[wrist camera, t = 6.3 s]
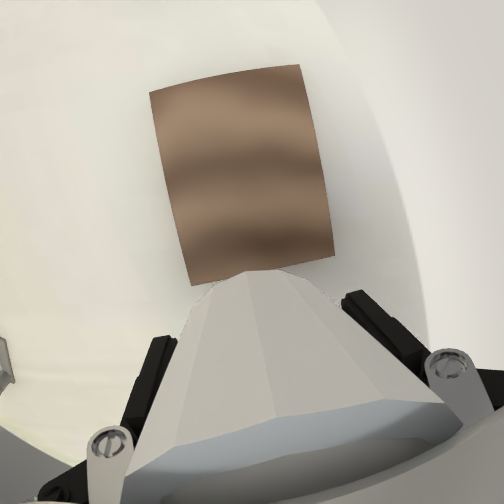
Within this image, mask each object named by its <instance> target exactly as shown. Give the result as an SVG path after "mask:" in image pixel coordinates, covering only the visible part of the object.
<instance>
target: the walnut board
mask: <svg viewBox="0 0 504 504" xmlns="http://www.w3.org/2000/svg"><path fill="white" fill-rule="evenodd" d="M149 95H150V101H151V108H152V113H153V119H154V125H155V130H156V136H157V141H158V146H159V151H160V156H161V161H162V166H163V171H164V176H165V181H166V185H167V190H168V194H169V199H170V203H171V208H172V212H173V216H174V220H175V225H176V229H177V233H178V237H179V241H180V245H181V249H182V253H183V257H184V260H185V264H186V268H187V272H188V275H189V279H190V283H191V286H195V285H200V284H205V283H209V282H214V281H219V280H224V279H229V278H231V277H234V276H236V275H238V274H241V273H243V272H245V271H264V270H272V269H276V268H281V267H286V266H290V265H295V264H299V263H304V262H308V261H313V260H317V259H322V258H326V257H331V256H335V251H334V243H333V235H332V228H331V221H330V214H329V208H328V201H327V195H326V189H325V183H324V177H323V171H322V166H321V160H320V155H319V150H318V144H317V139H316V134H315V130H314V125H313V120H312V116H311V111H310V107H309V102H308V98H307V94H306V89H305V85H304V81H303V77H302V73H301V69H300V65H299V64H297V65H286V66H276V67H268V68H260V69H253V70H246V71H240V72H234V73H228V74H223V75H218V76H213V77H208V78H203V79H199V80H194V81H190V82H186V83H182V84H178V85H174V86H170V87H166V88H163V89H159V90H156V91H152V92H149Z"/></svg>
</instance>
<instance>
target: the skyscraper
mask: <svg viewBox="0 0 504 504" xmlns="http://www.w3.org/2000/svg"><path fill="white" fill-rule="evenodd" d="M9 383H13V384H14V383H15V380H14V376H13V372H12V368H11V363H10V359H9V354H8V349H7V344H6V340H5V339H3V338H1V337H0V395H1V393H2V392H3V391H4V389H5V388H6V387H7V385H8V384H9Z"/></svg>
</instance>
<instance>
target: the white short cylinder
mask: <svg viewBox="0 0 504 504" xmlns="http://www.w3.org/2000/svg"><path fill="white" fill-rule="evenodd" d="M463 425H464V424H463V423H462V422H461V421H460V419H459V418H458V417H457V416H456V415H455V414H454V412H453V411H452V410H451V409H450V408H449V407H448V406H447V404H446V403H445V402H444V401H442V400H441V399H440V398H439V397H438V396H437V395H436V394H435V393H434V392H433V391H432V390H431V389H430V388H428V387H427V386H426V385H425V384H424V383H423V382H422V381H421V380H420V379H419V378H418V377H416V376H415V375H414V374H413V373H412V372H411V371H410V370H409V369H408V368H407V367H406V366H404V365H403V364H402V363H401V362H400V361H399V360H398V359H397V358H396V357H395V356H393V355H392V354H391V353H390V352H389V351H388V350H387V349H386V348H385V347H384V346H382V345H381V344H380V343H379V342H378V341H377V340H376V339H375V338H374V337H372V336H371V335H370V334H369V333H368V332H367V331H366V330H365V329H364V328H362V327H361V326H360V325H359V324H358V323H357V322H356V321H355V320H353V319H352V318H351V317H350V316H349V315H348V314H347V313H346V312H345V311H343V310H342V309H341V308H340V307H339V306H338V305H337V304H335V303H334V302H333V301H332V300H331V299H330V298H329V297H328V296H326V295H325V294H324V293H323V292H322V291H321V290H320V289H319V288H317V287H316V286H315V285H314V284H313V283H312V282H311V281H309V280H307V279H304V278H301V277H299V276H296V275H293V274H290V273H287V272H284V271H282V270H264V271H245V272H243V273H241V274H238V275H236V276H234V277H231V278H229V279H227V280H225V281H222V282H220V283H218V284H215V285H214V286H213V287H212V288H211V289H210V290H209V291H208V292H207V293H206V294H205V295H204V296H203V297H202V298H201V299H200V300H199V301H198V302H197V304H196V305H195V306H194V307H193V308H192V310H191V313H190V315H189V317H188V320H187V322H186V324H185V327H184V329H183V331H182V334H181V336H180V339H179V341H178V343H177V346H176V348H175V350H174V353H173V355H172V358H171V360H170V362H169V365H168V367H167V370H166V372H165V375H164V377H163V379H162V382H161V384H160V387H159V389H158V392H157V394H156V397H155V399H154V402H153V404H152V407H151V409H150V412H149V414H148V417H147V419H146V422H145V424H144V427H143V430H142V432H141V435H140V437H139V440H138V443H137V445H136V448H135V450H134V453H133V456H132V458H131V461H130V464H129V466H128V469H127V472H126V475H125V477H124V483H123V488H122V494H121V500H120V504H267V503H272V502H278V501H283V500H288V499H293V498H297V497H301V496H306V495H310V494H314V493H318V492H321V491H325V490H328V489H332V488H335V487H339V486H342V485H345V484H348V483H351V482H354V481H357V480H360V479H363V478H366V477H368V476H371V475H374V474H376V473H379V472H381V471H384V470H387V469H389V468H391V467H394V466H396V465H398V464H401V463H403V462H405V461H407V460H410V459H412V458H414V457H416V456H418V455H420V454H422V453H424V452H426V451H428V450H430V449H432V448H434V447H436V446H438V445H440V444H442V443H443V441H444V440H446V439H447V438H448V437H450V436H451V435H452V434H453V433H454V432H456V431H457V430H458V429H459V428H460V427H462V426H463Z"/></svg>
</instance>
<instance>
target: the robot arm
mask: <svg viewBox="0 0 504 504" xmlns="http://www.w3.org/2000/svg"><path fill="white" fill-rule="evenodd" d="M341 306H342V310H343V311H345V312H346V313H347V314H348V315H349V316H350V317H351V318H352V319H353V320H355V321H356V322H357V323H358V324H359V325H360V326H361V327H362V328H364V329H365V330H366V331H367V332H368V333H369V334H370V335H371V336H372V337H374V338H375V339H376V340H377V341H378V342H379V343H380V344H381V345H382V346H384V347H385V348H386V349H387V350H388V351H389V352H390V353H391V354H392V355H393V356H395V357H396V358H397V359H398V360H399V361H400V362H401V363H402V364H403V365H404V366H406V367H407V368H408V369H409V370H410V371H411V372H412V373H413V374H414V375H415V376H416V377H418V378H419V379H420V380H421V381H422V382H423V383H424V384H425V385H426V386H427V387H428V388H430V389H431V390H432V391H433V392H434V393H435V394H436V395H437V396H438V397H439V398H440V399H441V400H442V401H444V402H445V403H446V404H447V406H448V407H449V408H450V409H451V410H452V411H453V412H454V414H455V415H456V416H457V417H458V418H459V419H460V421H461V422H462V423H463V424H464V425H463V426H462V427H460V428H459V429H458V430H457V431H456V432H454V433H453V434H452V435H451V436H450V437H448V438H447V439H446V440H444V441H443V443H442V444H440V445H438V446H436V447H434V448H432V449H430V450H428V451H426V452H424V453H422V454H420V455H418V456H416V457H414V458H412V459H410V460H407V461H405V462H403V463H401V464H398V465H396V466H394V467H391V468H389V469H387V470H384V471H381V472H379V473H376V474H374V475H371V476H368V477H366V478H363V479H360V480H357V481H354V482H351V483H348V484H345V485H342V486H339V487H335V488H332V489H328V490H325V491H321V492H318V493H314V494H310V495H306V496H301V497H297V498H293V499H288V500H283V501H278V502H272V503H267V504H504V371H502V370H488V369H476V368H475V366H474V364H473V362H472V360H471V358H470V357H469V356H468V355H467V354H466V353H465V352H463V351H460V350H458V349H451V348H448V349H441V350H437V351H435V352H433V353H431V352H430V351H429V350H428V349H427V348H426V347H425V346H424V345H423V344H422V343H421V342H420V341H419V340H418V339H417V338H415V337H414V336H413V335H412V334H411V333H410V332H409V331H408V330H407V329H406V328H405V327H404V326H403V325H402V324H401V323H400V322H399V321H398V320H397V319H396V318H394V317H390V316H389V315H388V314H387V313H386V312H385V311H384V310H383V309H382V308H381V307H380V306H379V305H378V304H377V303H376V302H375V301H374V300H373V299H372V298H371V297H369V296H368V295H367V294H366V293H365V292H364V291H363V290H362V289H361V290H358V291H354V292H351V293H347V294H346V297H345V298H344V299H342V300H341ZM177 343H178V341H177V339H176V338H171V336H170V335H166V336H161V337H155V338H153V340H152V342H151V345H150V348H149V350H148V353H147V355H146V358H145V361H144V364H143V366H142V369H141V372H140V374H139V376H138V377H137V379H136V381H135V383H134V386H133V389H132V392H131V394H130V397H129V400H128V403H127V406H126V409H125V412H124V414H123V417H122V420H121V423H120V426H109V427H105V428H103V429H101V430H99V431H98V432H96V433H95V434H94V435H93V436H92V437H91V438H90V440H89V442H88V445H87V459H86V460H85V461H83V462H81V463H80V464H78V465H76V466H75V467H73V468H71V469H70V470H68V471H66V472H65V473H63V474H61V475H60V476H58V477H56V478H54V479H53V480H51V481H49V482H48V483H46V484H45V485H44V486H43V487H42V488H41V489H40V491H39V494H38V499H37V498H36V497H34V496H33V497H31V498H29V499H27V500H25V501H23V502H20V503H18V504H120V500H121V494H122V488H123V483H124V477H125V475H126V472H127V469H128V466H129V464H130V461H131V458H132V456H133V453H134V450H135V448H136V445H137V443H138V440H139V437H140V435H141V432H142V430H143V427H144V424H145V422H146V419H147V417H148V414H149V412H150V409H151V407H152V404H153V402H154V399H155V397H156V394H157V392H158V389H159V387H160V384H161V382H162V379H163V377H164V375H165V372H166V370H167V367H168V365H169V362H170V360H171V358H172V355H173V353H174V350H175V348H176V346H177Z"/></svg>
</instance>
